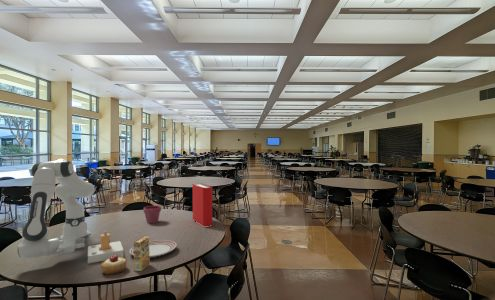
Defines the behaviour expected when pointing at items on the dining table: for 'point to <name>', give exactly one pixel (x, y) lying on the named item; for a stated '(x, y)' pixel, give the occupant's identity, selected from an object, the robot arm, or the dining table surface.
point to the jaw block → (105, 241)
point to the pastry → (113, 265)
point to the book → (202, 204)
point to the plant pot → (152, 213)
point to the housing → (104, 252)
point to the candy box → (141, 254)
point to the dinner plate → (158, 247)
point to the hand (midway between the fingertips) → (84, 242)
